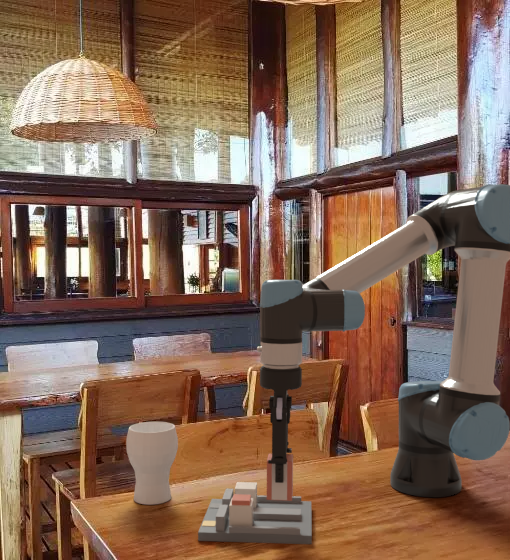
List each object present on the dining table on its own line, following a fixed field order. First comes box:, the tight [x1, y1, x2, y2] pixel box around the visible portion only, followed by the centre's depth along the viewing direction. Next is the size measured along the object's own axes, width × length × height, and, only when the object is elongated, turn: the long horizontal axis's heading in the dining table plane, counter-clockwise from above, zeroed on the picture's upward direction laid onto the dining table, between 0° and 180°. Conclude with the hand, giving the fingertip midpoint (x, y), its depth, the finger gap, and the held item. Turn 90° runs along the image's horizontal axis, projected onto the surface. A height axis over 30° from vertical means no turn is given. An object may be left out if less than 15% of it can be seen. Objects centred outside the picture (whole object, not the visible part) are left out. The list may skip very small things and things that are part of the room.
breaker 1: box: [234, 481, 258, 508], centre depth 132 cm, size 4×4×4 cm
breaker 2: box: [229, 493, 253, 526], centre depth 123 cm, size 4×4×5 cm
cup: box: [125, 421, 179, 506], centre depth 141 cm, size 11×11×15 cm
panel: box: [197, 488, 313, 545], centre depth 127 cm, size 20×17×4 cm
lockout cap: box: [266, 453, 294, 501], centre depth 122 cm, size 4×4×7 cm
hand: (280, 493), depth 122 cm, fingers closed on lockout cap, 4 cm apart
